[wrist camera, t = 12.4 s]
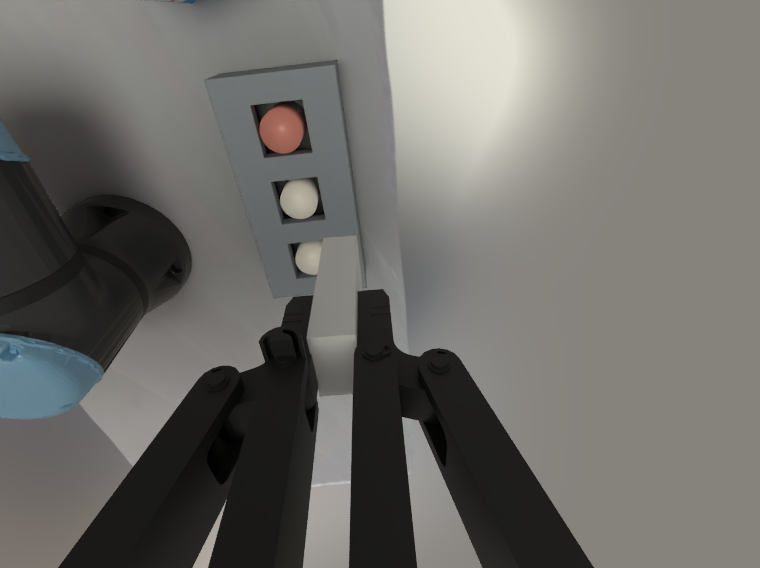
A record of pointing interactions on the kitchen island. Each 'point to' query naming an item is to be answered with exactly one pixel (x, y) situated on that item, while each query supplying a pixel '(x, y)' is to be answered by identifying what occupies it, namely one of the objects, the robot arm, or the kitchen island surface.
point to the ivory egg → (309, 256)
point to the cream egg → (300, 197)
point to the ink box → (180, 0)
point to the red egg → (283, 127)
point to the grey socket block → (289, 163)
